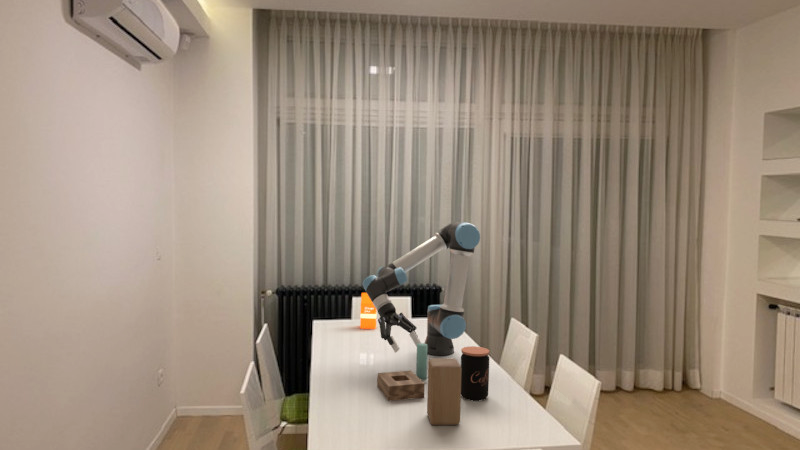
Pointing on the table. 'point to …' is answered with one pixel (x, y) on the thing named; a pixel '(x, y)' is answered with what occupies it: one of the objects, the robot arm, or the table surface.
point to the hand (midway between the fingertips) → (408, 347)
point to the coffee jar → (474, 373)
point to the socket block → (400, 385)
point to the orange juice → (367, 313)
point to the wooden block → (444, 391)
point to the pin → (421, 361)
